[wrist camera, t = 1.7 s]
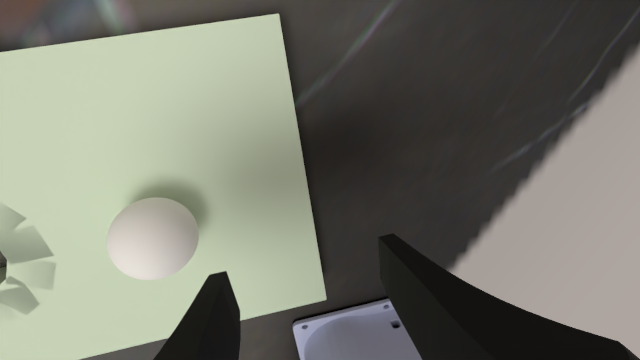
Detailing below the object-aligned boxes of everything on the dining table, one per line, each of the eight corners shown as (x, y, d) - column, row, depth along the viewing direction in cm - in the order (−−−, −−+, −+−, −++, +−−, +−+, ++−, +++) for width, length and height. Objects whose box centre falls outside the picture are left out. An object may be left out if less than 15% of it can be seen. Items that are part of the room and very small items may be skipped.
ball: (191, 177, 16) (173, 216, 13) (212, 238, 18) (202, 287, 15) (113, 192, 16) (71, 237, 12) (142, 252, 18) (113, 307, 14)
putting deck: (276, 16, 16) (279, 13, 14) (320, 275, 24) (326, 299, 22) (-261, 91, 14) (-362, 102, 11) (-15, 352, 22) (-46, 389, 19)
